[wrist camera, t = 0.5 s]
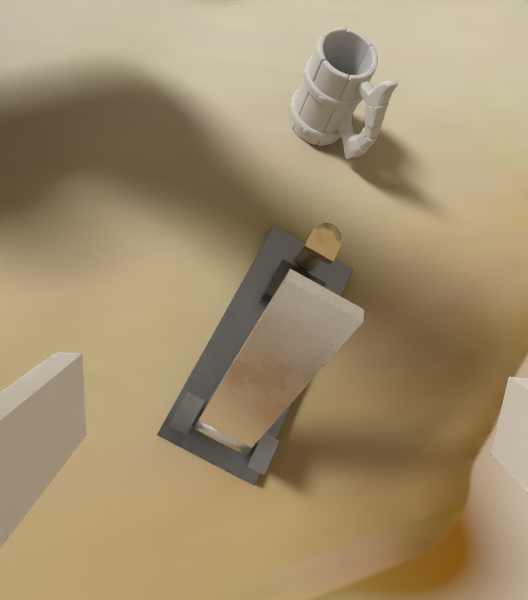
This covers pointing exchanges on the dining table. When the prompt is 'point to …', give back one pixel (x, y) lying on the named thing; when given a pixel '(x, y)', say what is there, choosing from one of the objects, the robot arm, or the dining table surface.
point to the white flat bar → (278, 361)
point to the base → (234, 332)
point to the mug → (340, 93)
